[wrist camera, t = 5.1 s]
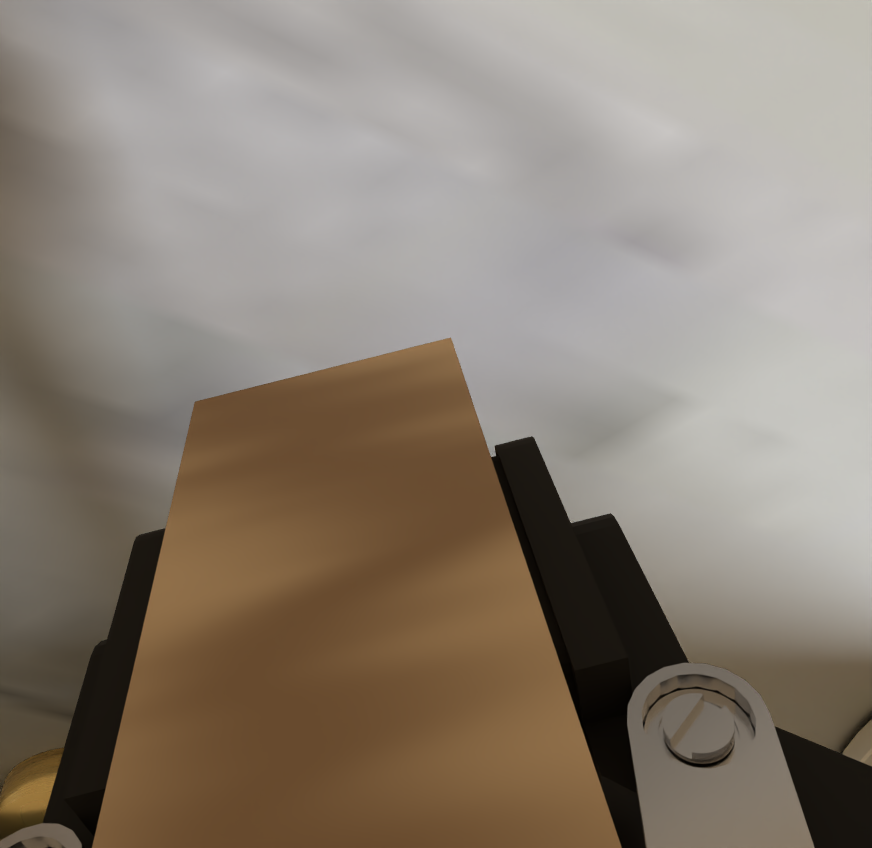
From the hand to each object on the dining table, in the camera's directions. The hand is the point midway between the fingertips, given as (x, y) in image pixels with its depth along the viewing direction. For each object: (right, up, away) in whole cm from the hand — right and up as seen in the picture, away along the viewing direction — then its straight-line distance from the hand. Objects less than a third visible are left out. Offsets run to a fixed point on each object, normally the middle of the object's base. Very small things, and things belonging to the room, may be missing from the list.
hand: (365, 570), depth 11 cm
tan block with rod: (+1, -4, +6) cm, 7 cm away
